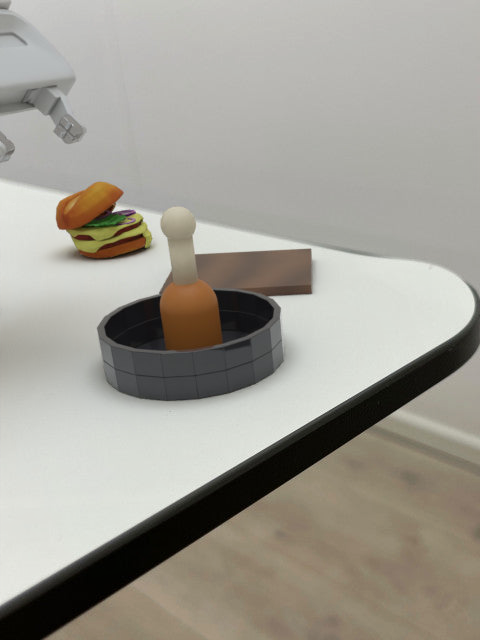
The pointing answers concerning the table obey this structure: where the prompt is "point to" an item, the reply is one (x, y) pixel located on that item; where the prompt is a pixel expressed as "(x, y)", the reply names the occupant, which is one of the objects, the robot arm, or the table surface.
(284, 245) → the table surface
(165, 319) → the drumstick
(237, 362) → the pan
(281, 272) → the board
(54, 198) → the table surface
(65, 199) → the cheeseburger
